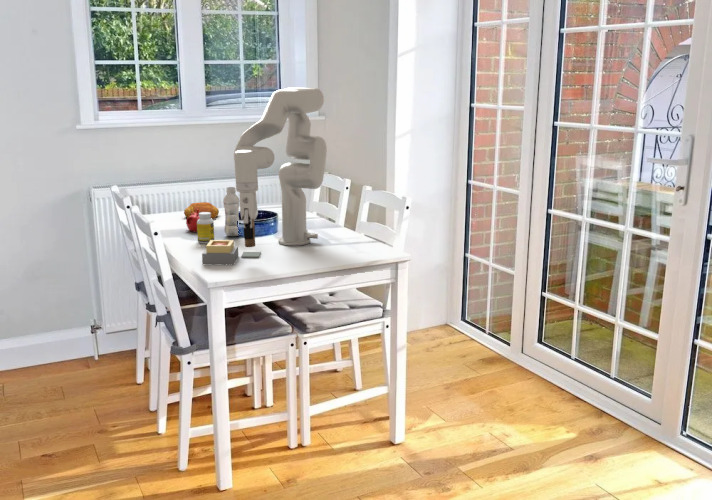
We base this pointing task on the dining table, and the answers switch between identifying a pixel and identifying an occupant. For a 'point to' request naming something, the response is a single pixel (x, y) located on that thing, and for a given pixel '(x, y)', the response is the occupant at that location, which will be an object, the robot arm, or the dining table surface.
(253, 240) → the brown wooden tall bar
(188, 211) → the croissant
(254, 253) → the coaster
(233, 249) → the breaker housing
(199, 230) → the pill bottle
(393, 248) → the dining table surface
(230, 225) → the plastic bottle
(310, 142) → the robot arm
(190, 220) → the pomegranate
